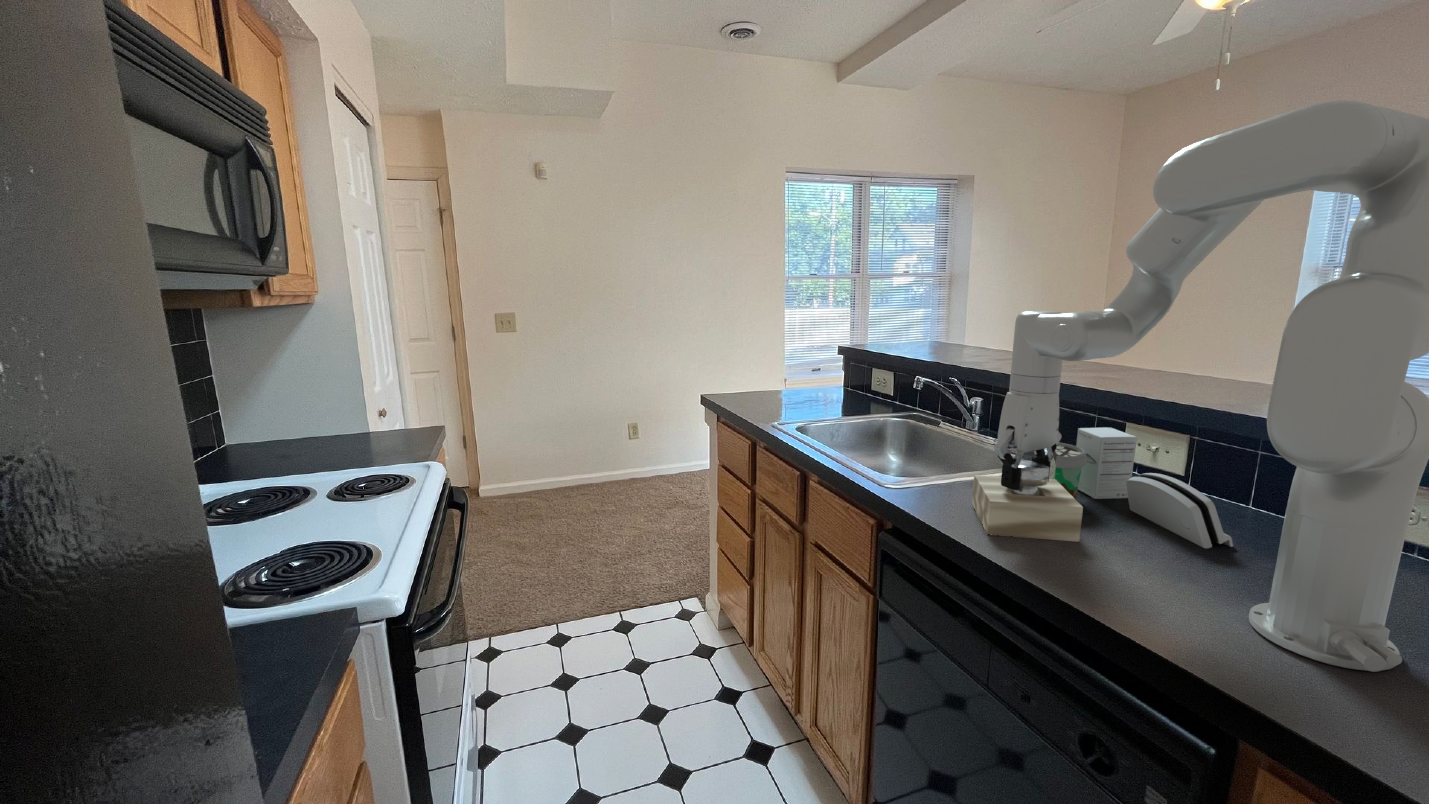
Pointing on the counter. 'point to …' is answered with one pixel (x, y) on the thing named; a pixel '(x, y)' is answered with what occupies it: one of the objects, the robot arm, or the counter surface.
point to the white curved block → (1176, 508)
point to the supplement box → (1106, 462)
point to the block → (1027, 510)
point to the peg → (1031, 477)
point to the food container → (1067, 466)
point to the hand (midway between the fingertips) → (1024, 483)
